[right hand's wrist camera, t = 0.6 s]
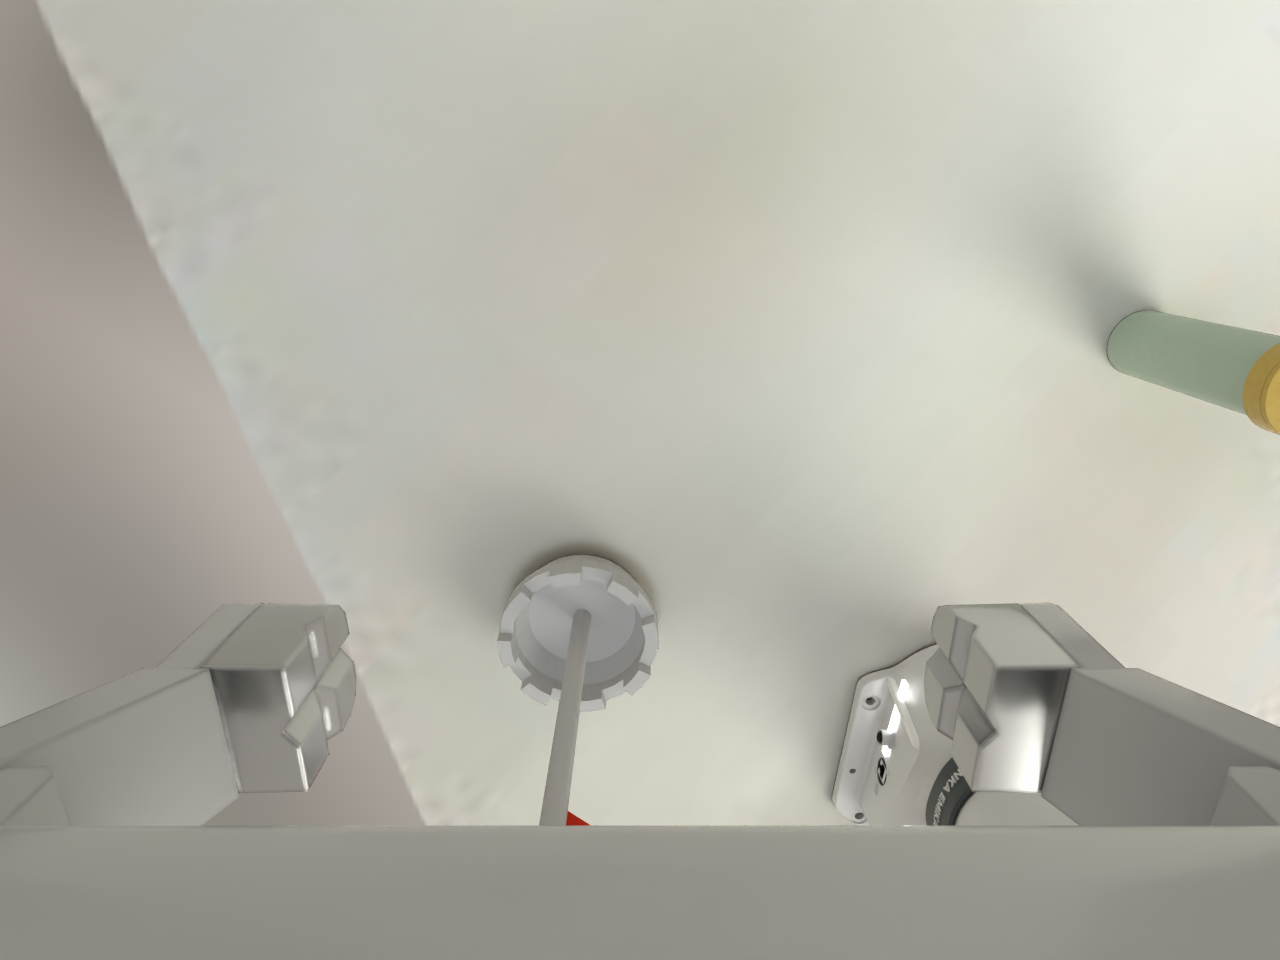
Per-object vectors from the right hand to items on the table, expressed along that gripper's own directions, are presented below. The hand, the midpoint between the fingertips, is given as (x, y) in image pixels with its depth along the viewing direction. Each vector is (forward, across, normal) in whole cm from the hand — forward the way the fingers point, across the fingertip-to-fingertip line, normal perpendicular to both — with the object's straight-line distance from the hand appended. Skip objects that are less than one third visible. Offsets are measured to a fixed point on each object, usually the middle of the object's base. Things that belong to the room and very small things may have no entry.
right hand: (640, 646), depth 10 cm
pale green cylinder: (+48, -38, +4) cm, 62 cm away
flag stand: (+48, +5, +27) cm, 55 cm away
